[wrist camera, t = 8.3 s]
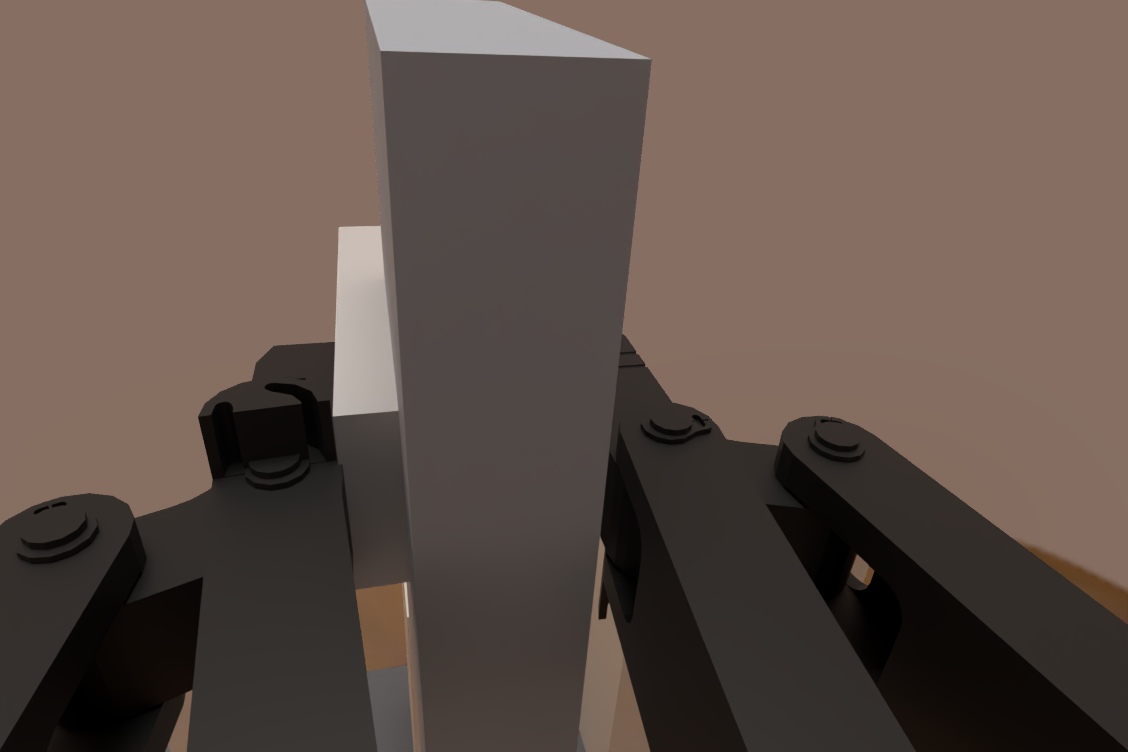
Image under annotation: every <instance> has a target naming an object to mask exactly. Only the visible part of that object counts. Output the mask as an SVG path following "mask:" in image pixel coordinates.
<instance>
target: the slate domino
mask: <svg viewBox="0 0 1128 752" xmlns="http://www.w3.org/2000/svg"><path fill="white" fill-rule="evenodd" d="M364 3H365V18H366V30H367V43H368V44H367V45H368V58H369V73H370V86H371V100H372V113H373V128H374V142H375V155H376V169H377V183H378V195H379V211H380V224H381V238H382V252H383V266H384V279H385V289H386V298H387V307H388V317H389V326H390V336H391V345H392V354H393V364H394V373H395V383H396V392H397V401H398V411H399V425H400V440H401V454H402V469H403V483H404V498H405V512H406V527H407V542H408V556H409V571H410V582H406V583H407V596H408V610H409V624H410V636H411V647H412V658H413V669H414V681H415V692H416V703H417V714H418V725H419V737H420V748H421V752H577V744H578V734H579V725H580V716H581V707H582V697H583V688H584V679H585V670H586V661H587V651H588V642H589V633H590V624H591V614H592V605H593V596H594V587H595V578H596V568H597V559H598V550H599V541H600V531H601V522H602V513H603V504H604V494H605V485H606V476H607V467H608V458H609V448H610V439H611V430H612V421H613V411H614V402H615V393H616V384H617V375H618V365H619V356H620V347H621V338H622V328H623V318H624V310H625V300H626V291H627V282H628V273H629V264H630V255H631V245H632V236H633V226H634V218H635V208H636V199H637V190H638V181H639V171H640V162H641V153H642V143H643V135H644V125H645V116H646V107H647V98H648V89H649V78H650V70H651V61H652V59H650V58H647V57H644V56H641V55H639V54H636V53H634V52H631V51H628V50H626V49H623V48H621V47H618V46H615V45H612V44H610V43H607V42H605V41H602V40H599V39H597V38H594V37H592V36H589V35H586V34H584V33H581V32H578V31H575V30H573V29H570V28H568V27H565V26H563V25H560V24H557V23H555V22H552V21H549V20H547V19H544V18H541V17H539V16H536V15H534V14H531V13H528V12H525V11H523V10H520V9H518V8H515V7H513V6H510V5H507V4H505V3H502V2H499V1H480V0H364Z"/></svg>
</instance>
